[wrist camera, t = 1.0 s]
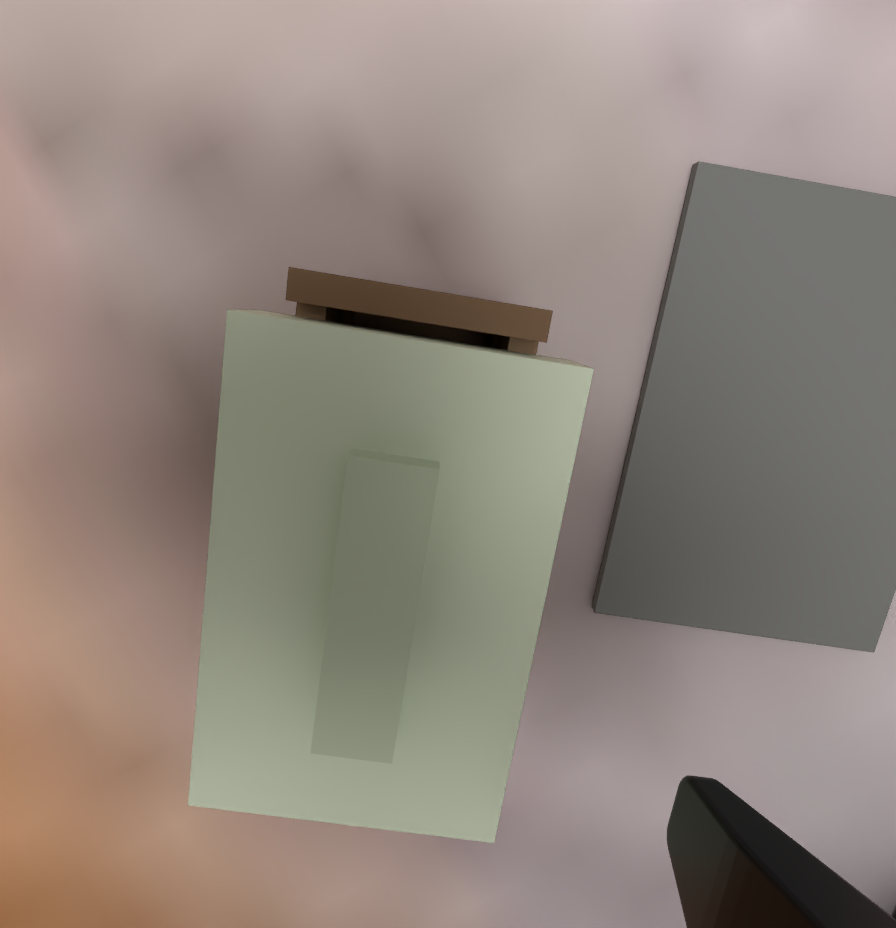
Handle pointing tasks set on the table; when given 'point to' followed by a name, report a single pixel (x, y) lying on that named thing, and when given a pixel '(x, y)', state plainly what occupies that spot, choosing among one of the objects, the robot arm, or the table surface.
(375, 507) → the lid
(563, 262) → the table surface
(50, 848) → the table surface
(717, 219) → the slate mat
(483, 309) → the walnut box
